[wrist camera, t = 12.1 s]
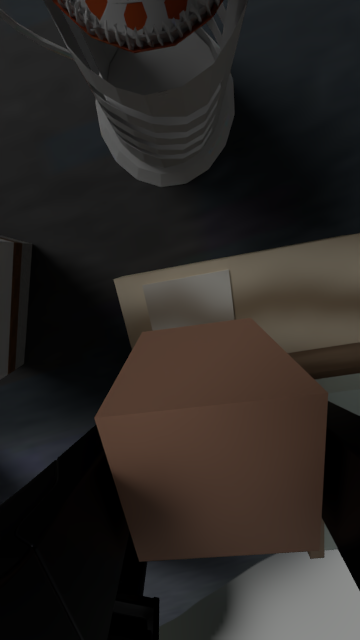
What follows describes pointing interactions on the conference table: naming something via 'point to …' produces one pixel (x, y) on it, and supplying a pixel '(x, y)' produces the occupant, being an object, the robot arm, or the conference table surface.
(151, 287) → the cardboard tray
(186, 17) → the french press
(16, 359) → the tall white pillar
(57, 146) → the conference table surface
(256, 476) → the block
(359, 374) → the lid
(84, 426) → the conference table surface
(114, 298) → the conference table surface
